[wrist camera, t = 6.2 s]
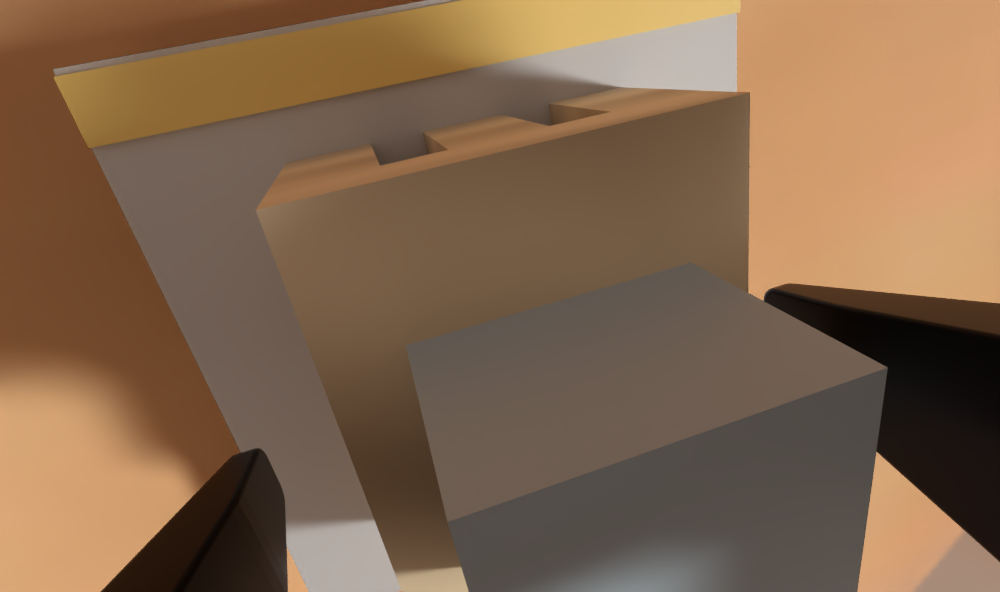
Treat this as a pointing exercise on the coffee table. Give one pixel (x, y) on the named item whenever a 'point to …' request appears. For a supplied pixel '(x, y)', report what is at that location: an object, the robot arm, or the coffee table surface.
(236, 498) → the robot arm
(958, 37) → the coffee table surface
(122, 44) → the coffee table surface
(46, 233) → the coffee table surface
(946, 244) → the coffee table surface
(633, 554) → the grey square block
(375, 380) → the pallet
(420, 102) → the dock
